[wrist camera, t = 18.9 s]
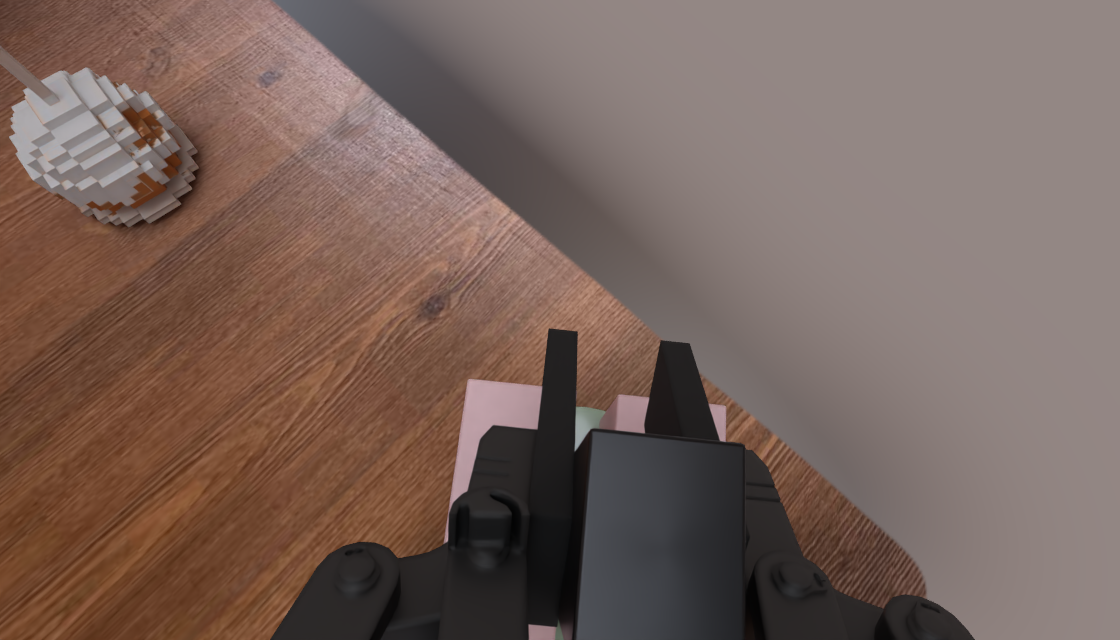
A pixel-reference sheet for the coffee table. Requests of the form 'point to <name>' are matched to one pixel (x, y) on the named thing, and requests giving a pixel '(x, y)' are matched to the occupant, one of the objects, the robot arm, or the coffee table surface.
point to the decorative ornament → (100, 145)
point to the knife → (655, 539)
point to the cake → (522, 410)
